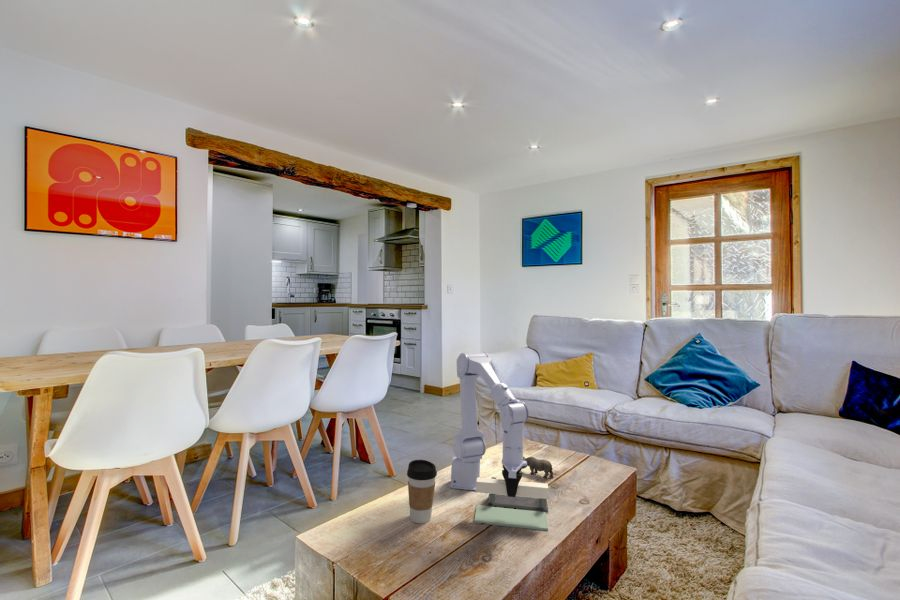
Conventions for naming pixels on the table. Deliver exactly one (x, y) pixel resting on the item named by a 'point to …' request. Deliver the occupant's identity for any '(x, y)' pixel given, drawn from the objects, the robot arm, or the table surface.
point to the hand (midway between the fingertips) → (511, 493)
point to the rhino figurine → (539, 466)
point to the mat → (511, 517)
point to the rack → (518, 502)
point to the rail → (523, 488)
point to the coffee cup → (421, 489)
